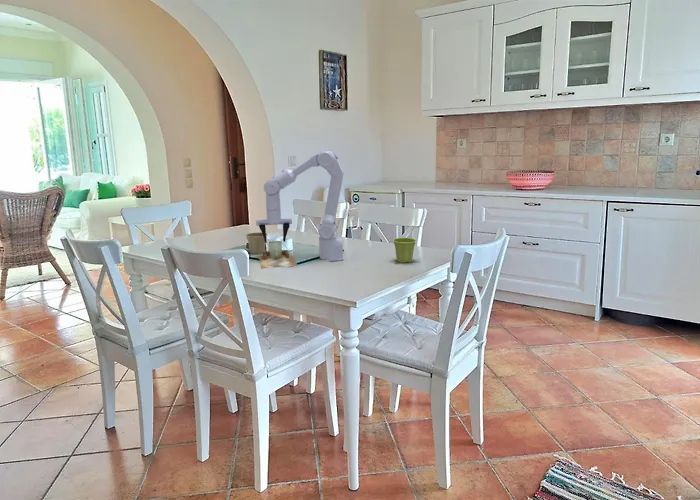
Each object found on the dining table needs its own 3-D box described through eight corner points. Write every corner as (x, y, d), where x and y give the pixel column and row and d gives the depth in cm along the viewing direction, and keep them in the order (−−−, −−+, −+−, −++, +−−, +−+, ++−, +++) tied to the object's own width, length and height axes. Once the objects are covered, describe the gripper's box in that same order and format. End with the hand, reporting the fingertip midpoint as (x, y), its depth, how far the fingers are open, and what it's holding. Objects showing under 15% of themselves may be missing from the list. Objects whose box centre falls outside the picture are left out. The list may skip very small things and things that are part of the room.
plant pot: (419, 259, 210) (419, 238, 208) (412, 264, 202) (412, 243, 200) (397, 257, 214) (397, 237, 212) (389, 262, 206) (389, 241, 204)
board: (291, 255, 222) (291, 249, 221) (297, 267, 201) (297, 261, 200) (258, 257, 219) (258, 251, 218) (261, 270, 198) (260, 263, 198)
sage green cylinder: (281, 255, 219) (280, 240, 217) (283, 259, 211) (282, 244, 210) (269, 256, 217) (268, 241, 216) (270, 260, 210) (269, 245, 209)
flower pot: (272, 254, 224) (271, 234, 223) (252, 257, 219) (250, 237, 217) (263, 250, 232) (261, 231, 230) (243, 253, 227) (242, 234, 225)
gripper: (290, 207, 216) (291, 238, 219) (255, 208, 213) (256, 241, 216) (291, 209, 210) (293, 242, 213) (255, 211, 207) (257, 244, 210)
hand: (275, 241), depth 214 cm, fingers open, 7 cm apart
